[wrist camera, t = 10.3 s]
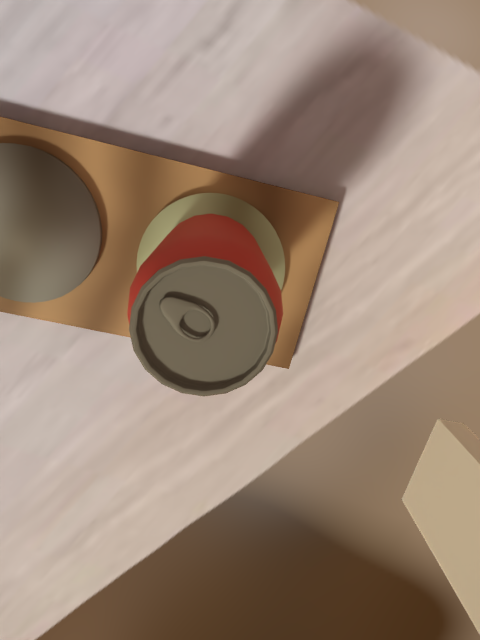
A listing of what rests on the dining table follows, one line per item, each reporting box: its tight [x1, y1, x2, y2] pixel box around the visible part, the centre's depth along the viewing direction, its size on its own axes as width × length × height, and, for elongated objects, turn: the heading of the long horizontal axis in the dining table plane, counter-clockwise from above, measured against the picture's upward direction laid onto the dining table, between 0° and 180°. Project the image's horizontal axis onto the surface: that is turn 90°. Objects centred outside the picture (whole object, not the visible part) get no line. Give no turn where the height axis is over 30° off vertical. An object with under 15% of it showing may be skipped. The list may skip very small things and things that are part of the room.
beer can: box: [127, 214, 283, 396], centre depth 21 cm, size 7×7×12 cm
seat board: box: [0, 117, 339, 369], centre depth 27 cm, size 26×12×2 cm, turn 77°
